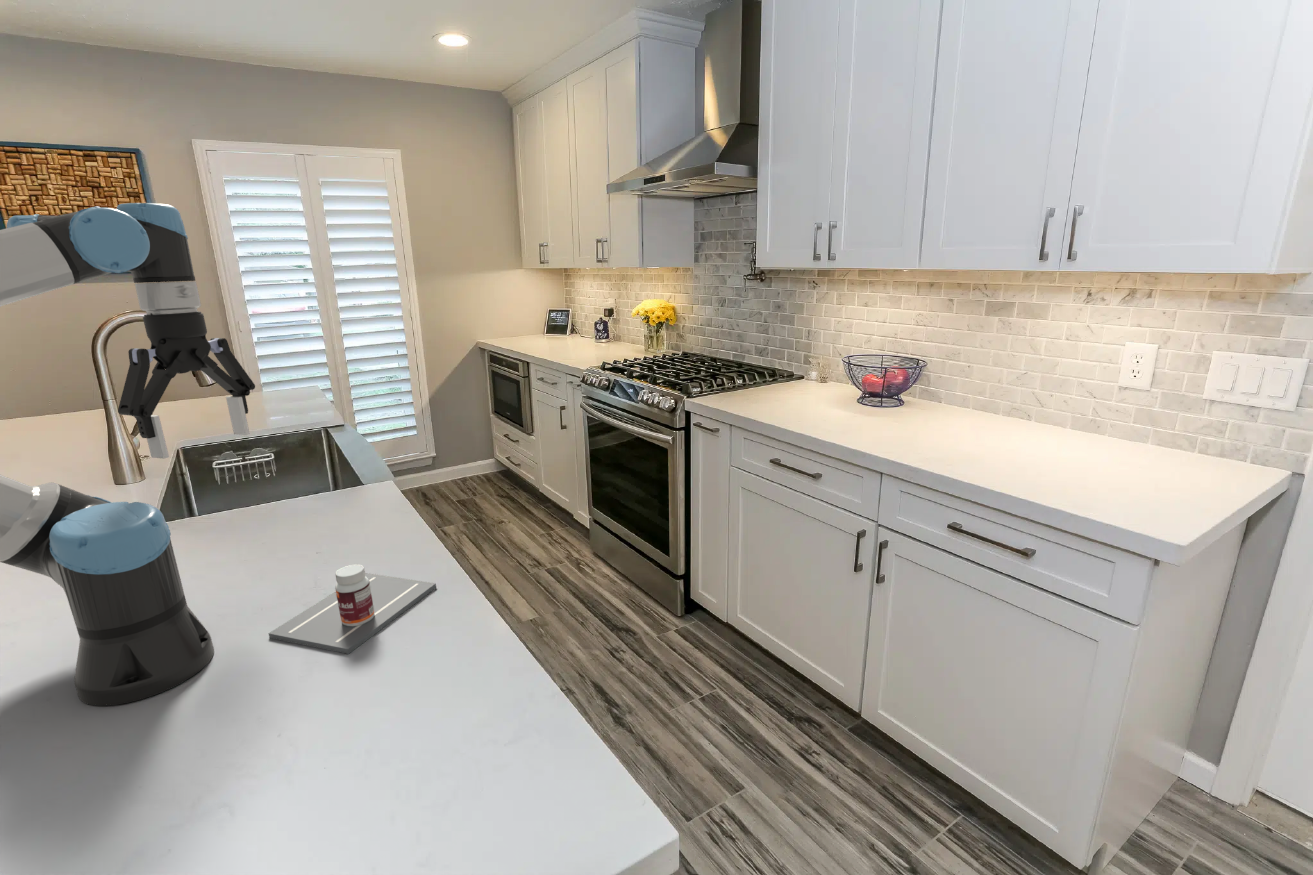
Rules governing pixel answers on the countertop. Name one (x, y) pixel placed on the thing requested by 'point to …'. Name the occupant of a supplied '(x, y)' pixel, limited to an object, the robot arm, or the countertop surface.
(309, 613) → the slate
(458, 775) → the countertop surface
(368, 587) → the pill bottle
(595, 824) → the countertop surface
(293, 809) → the countertop surface
